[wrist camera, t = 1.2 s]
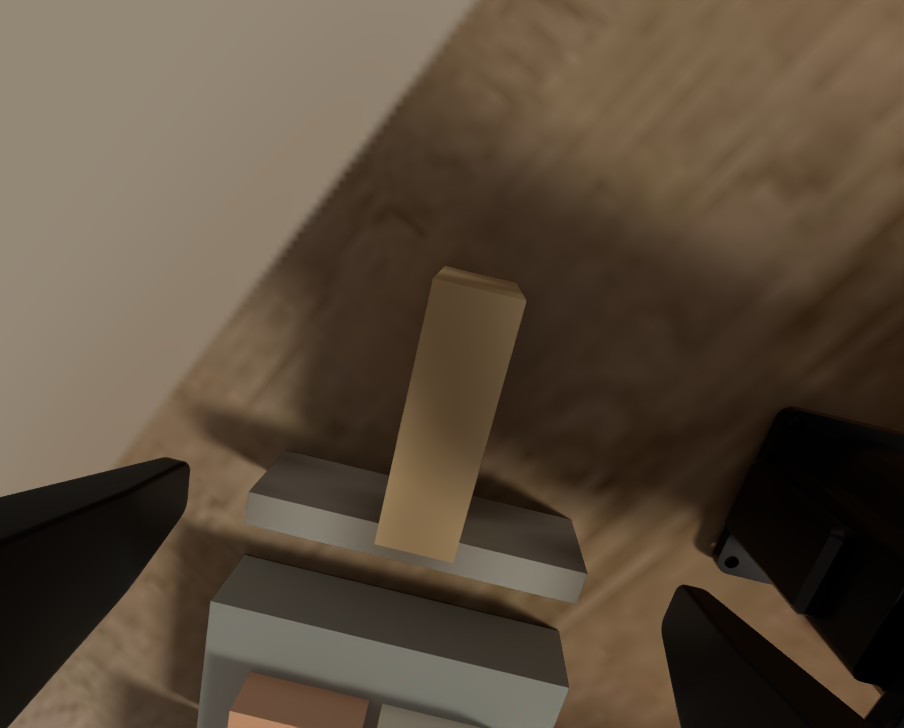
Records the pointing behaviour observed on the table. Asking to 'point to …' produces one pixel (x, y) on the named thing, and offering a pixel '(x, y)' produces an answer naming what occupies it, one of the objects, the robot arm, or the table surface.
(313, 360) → the table surface
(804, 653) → the table surface
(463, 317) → the scraper
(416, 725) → the tile cream
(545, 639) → the grey stepped riser
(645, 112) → the table surface
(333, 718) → the tile terracotta
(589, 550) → the table surface
